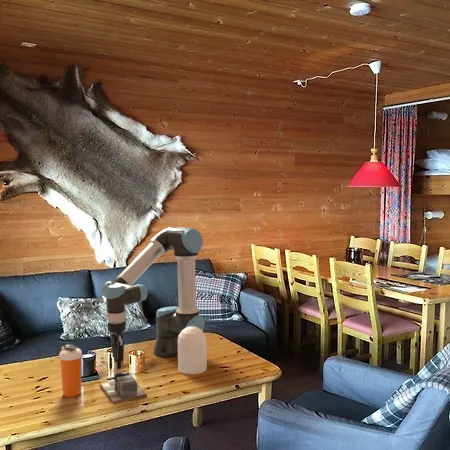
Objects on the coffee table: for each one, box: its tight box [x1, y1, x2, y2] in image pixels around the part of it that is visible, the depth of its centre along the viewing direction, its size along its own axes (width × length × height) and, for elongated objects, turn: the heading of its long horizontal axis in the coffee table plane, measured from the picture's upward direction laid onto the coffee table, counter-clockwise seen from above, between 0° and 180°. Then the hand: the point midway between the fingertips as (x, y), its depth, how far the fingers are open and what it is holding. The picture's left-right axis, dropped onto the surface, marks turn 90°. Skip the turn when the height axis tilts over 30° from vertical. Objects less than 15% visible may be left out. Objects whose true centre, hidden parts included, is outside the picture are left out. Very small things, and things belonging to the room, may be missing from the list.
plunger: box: [106, 371, 131, 389], centre depth 206 cm, size 9×9×6 cm
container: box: [177, 326, 208, 375], centre depth 235 cm, size 14×13×20 cm
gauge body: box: [99, 374, 148, 405], centre depth 210 cm, size 20×14×7 cm
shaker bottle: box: [58, 343, 83, 398], centre depth 208 cm, size 9×9×20 cm
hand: (118, 375), depth 216 cm, fingers closed
